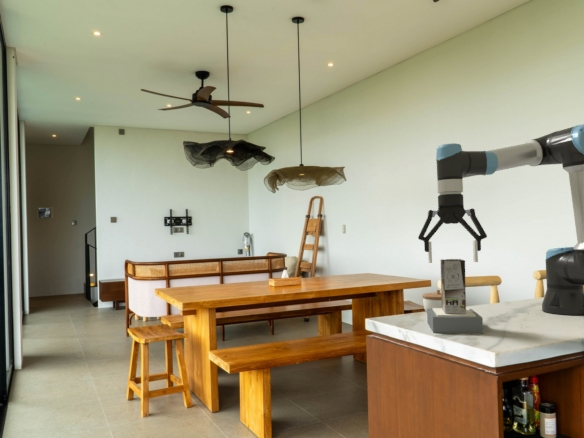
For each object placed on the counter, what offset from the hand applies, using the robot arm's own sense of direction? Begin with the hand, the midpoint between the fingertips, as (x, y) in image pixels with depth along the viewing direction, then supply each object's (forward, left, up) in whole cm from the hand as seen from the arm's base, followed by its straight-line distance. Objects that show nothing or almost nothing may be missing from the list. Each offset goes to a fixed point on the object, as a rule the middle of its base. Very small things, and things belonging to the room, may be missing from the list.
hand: (452, 262), depth 153 cm
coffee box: (0, 0, -15) cm, 15 cm away
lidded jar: (+2, -19, -21) cm, 28 cm away
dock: (0, 0, -20) cm, 20 cm away
